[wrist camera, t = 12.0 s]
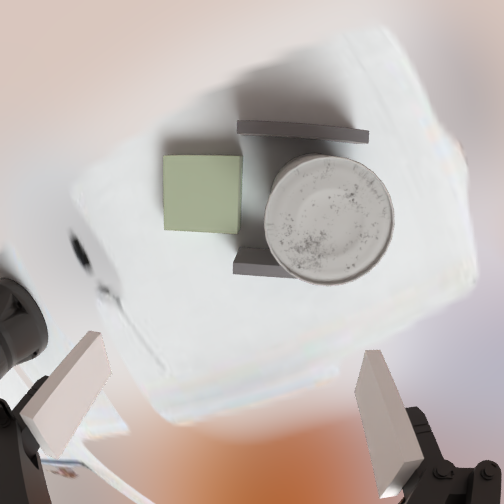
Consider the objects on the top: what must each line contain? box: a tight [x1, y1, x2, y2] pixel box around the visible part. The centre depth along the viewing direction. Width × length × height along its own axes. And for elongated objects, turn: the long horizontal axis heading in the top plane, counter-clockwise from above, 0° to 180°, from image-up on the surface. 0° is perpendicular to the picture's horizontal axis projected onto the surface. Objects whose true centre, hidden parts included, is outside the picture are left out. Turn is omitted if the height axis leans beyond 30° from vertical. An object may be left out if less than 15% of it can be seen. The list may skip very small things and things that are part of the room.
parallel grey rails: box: [233, 120, 369, 279], centre depth 31 cm, size 12×15×5 cm
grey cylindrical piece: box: [264, 153, 395, 286], centre depth 28 cm, size 10×10×12 cm
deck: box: [163, 155, 243, 234], centre depth 33 cm, size 8×8×2 cm
